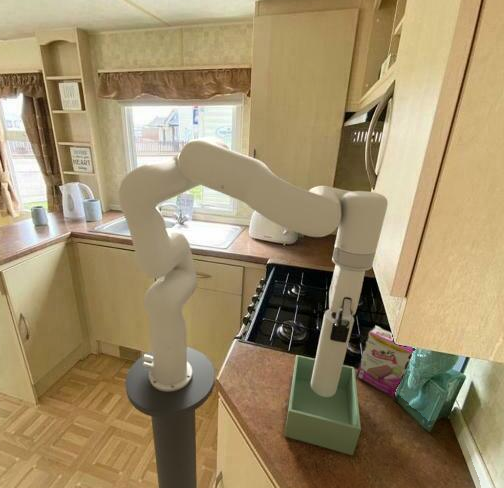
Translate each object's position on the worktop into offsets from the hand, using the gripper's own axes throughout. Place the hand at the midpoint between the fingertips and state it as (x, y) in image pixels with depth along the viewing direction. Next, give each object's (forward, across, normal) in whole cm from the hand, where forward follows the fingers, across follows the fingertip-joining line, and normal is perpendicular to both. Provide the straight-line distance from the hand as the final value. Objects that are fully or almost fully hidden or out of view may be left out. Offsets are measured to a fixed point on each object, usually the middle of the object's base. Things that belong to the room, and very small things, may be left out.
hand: (337, 328), depth 69 cm
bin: (+26, 0, 0) cm, 26 cm away
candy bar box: (+26, -15, +16) cm, 34 cm away
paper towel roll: (+18, 0, 0) cm, 18 cm away
